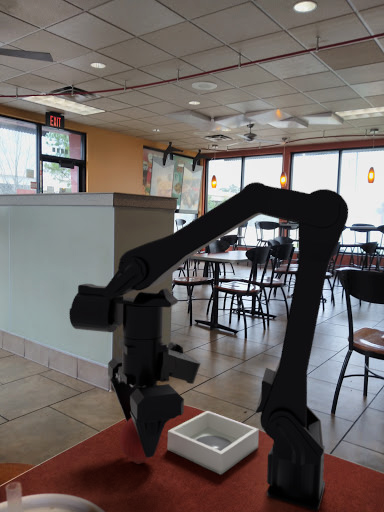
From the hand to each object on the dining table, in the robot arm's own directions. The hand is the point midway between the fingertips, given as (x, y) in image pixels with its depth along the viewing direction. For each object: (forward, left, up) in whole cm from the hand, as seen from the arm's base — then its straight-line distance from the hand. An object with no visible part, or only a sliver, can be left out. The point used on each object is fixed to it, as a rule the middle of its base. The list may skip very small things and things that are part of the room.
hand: (140, 440), depth 61 cm
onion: (0, 0, -4) cm, 4 cm away
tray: (-8, -9, -3) cm, 12 cm away
